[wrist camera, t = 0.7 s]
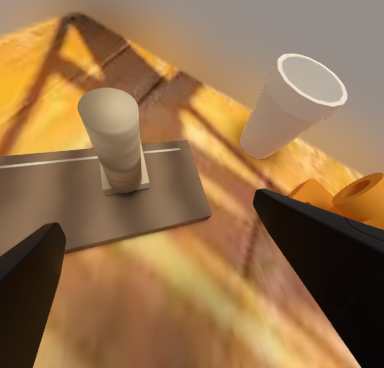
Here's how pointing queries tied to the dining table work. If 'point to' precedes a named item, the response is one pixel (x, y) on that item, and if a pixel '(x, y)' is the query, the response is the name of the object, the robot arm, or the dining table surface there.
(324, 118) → the foam cup
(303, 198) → the bracket
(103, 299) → the dining table surface
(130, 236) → the walnut board
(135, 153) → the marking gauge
